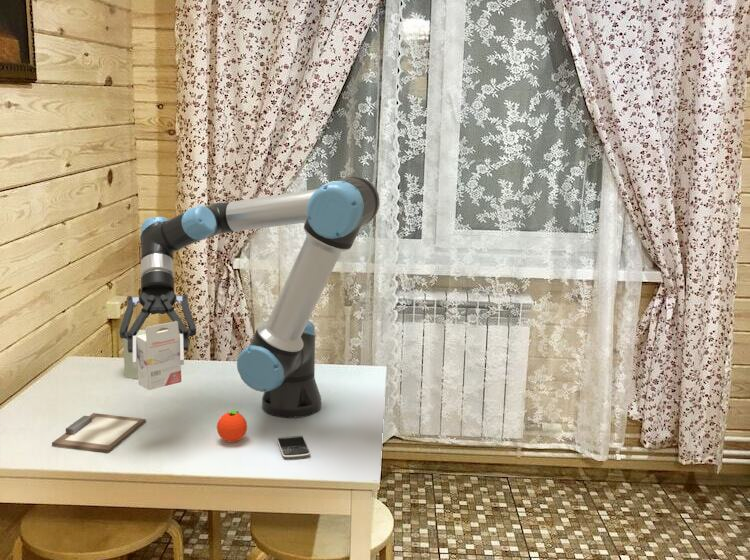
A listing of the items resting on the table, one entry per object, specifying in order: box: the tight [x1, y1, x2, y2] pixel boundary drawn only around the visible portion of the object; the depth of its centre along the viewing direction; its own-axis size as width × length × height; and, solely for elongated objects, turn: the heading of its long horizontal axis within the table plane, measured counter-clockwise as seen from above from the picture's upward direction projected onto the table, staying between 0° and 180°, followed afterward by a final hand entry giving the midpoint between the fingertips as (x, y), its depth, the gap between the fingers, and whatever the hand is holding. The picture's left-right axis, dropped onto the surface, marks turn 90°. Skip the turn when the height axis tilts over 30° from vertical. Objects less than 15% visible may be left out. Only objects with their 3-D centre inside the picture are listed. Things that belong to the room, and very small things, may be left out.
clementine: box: [216, 410, 248, 443], centre depth 201 cm, size 8×7×7 cm
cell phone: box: [276, 435, 311, 460], centre depth 198 cm, size 6×11×1 cm, turn 15°
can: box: [122, 329, 146, 380], centre depth 242 cm, size 9×9×12 cm
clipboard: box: [51, 412, 147, 454], centre depth 203 cm, size 14×18×2 cm
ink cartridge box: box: [136, 321, 182, 391], centre depth 195 cm, size 9×5×15 cm, turn 132°
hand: (158, 363), depth 192 cm, fingers closed on ink cartridge box, 9 cm apart
